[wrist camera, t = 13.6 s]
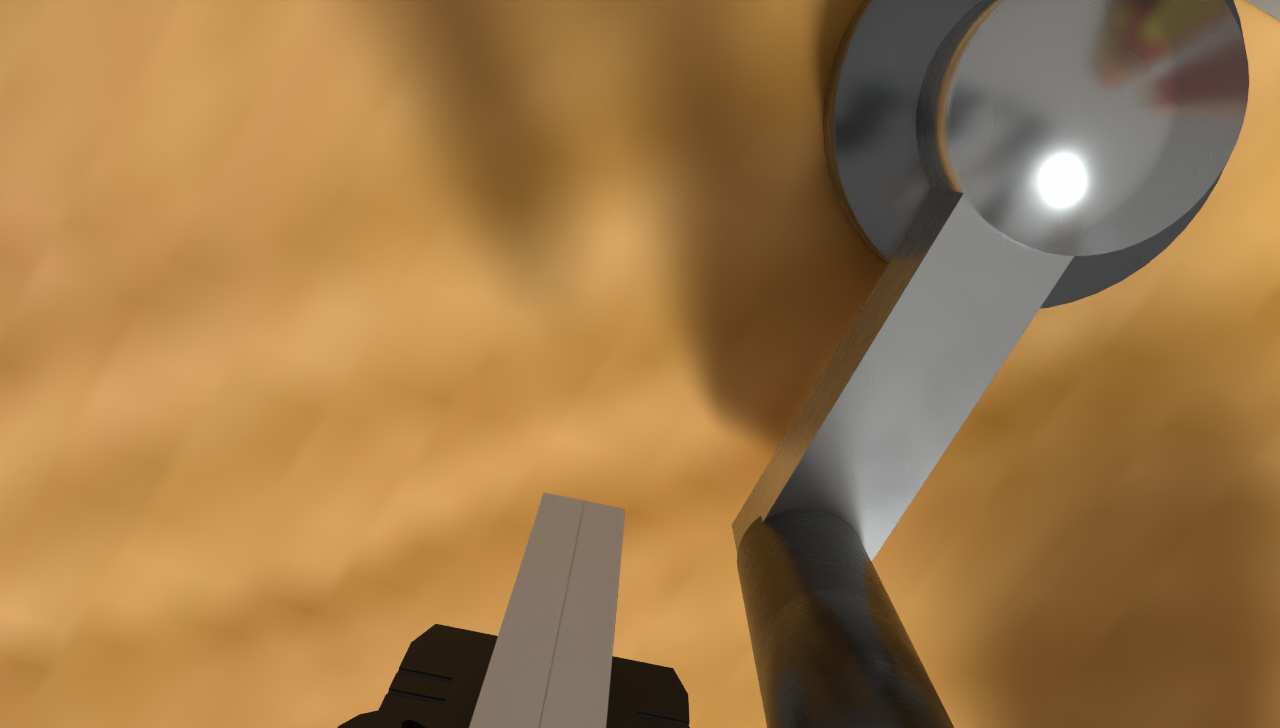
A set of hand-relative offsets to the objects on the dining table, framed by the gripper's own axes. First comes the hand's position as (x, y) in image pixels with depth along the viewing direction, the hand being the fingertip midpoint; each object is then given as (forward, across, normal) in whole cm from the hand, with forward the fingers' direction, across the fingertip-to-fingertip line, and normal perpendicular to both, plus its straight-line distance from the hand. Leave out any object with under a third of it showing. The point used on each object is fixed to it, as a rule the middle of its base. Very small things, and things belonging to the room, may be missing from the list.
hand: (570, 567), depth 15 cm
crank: (+4, +6, +5) cm, 9 cm away
